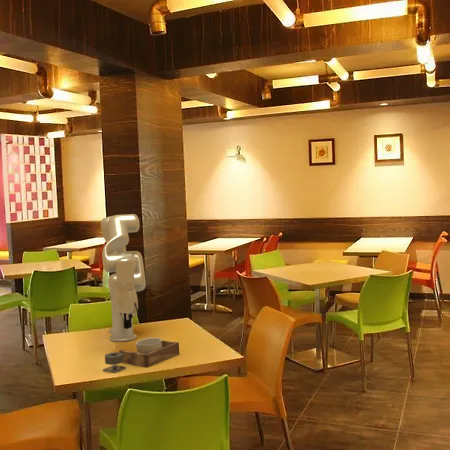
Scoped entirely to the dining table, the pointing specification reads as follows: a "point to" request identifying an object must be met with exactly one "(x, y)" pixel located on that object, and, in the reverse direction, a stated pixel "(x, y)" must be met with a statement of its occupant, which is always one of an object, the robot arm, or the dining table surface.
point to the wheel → (113, 358)
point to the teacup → (148, 345)
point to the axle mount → (114, 368)
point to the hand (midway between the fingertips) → (127, 327)
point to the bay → (151, 355)
